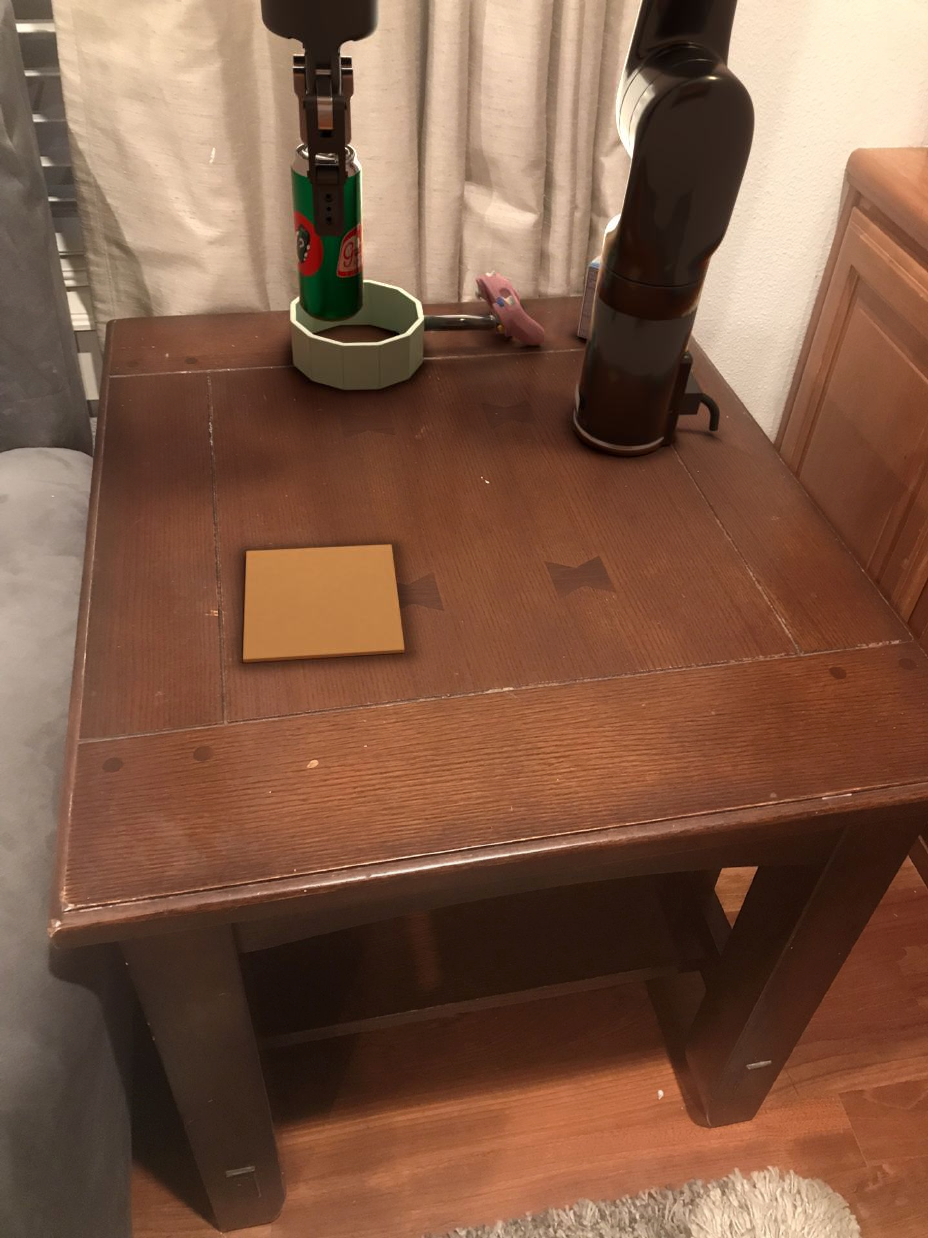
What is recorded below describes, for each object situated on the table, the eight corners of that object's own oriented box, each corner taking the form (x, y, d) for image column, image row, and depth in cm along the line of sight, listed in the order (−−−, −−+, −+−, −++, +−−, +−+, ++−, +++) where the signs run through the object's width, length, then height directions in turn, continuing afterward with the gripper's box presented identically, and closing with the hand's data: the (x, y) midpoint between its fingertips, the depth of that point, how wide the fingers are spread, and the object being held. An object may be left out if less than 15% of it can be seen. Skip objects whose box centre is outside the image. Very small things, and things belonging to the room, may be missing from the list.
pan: (485, 320, 108) (488, 278, 105) (504, 386, 99) (509, 342, 95) (292, 322, 105) (289, 280, 102) (294, 391, 96) (290, 346, 92)
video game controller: (485, 319, 111) (463, 270, 106) (519, 299, 111) (499, 249, 106) (513, 363, 105) (491, 313, 100) (550, 342, 104) (529, 292, 99)
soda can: (353, 329, 74) (349, 169, 65) (290, 318, 74) (278, 159, 66) (371, 299, 77) (370, 143, 69) (312, 289, 78) (303, 133, 69)
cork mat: (391, 547, 80) (391, 544, 80) (404, 652, 72) (404, 649, 72) (246, 554, 79) (246, 550, 79) (243, 662, 71) (242, 659, 70)
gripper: (386, -27, 54) (385, 262, 66) (373, -82, 64) (374, 179, 76) (251, -33, 53) (275, 261, 65) (258, -87, 63) (278, 177, 75)
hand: (328, 216), depth 70 cm, fingers closed on soda can, 5 cm apart
